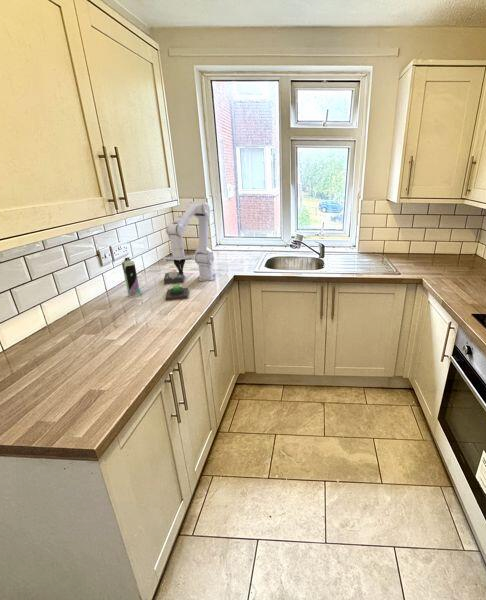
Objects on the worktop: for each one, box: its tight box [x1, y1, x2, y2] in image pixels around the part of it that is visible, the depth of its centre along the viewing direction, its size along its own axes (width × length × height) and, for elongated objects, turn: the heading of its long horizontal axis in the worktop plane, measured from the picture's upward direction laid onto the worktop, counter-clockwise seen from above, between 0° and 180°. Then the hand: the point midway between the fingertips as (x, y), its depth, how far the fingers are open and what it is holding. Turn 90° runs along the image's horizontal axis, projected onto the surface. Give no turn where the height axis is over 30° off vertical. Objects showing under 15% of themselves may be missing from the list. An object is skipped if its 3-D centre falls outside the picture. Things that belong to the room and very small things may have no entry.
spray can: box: [121, 256, 142, 298], centre depth 158 cm, size 6×6×20 cm
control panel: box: [163, 271, 185, 285], centre depth 184 cm, size 13×10×3 cm
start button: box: [171, 285, 181, 291], centre depth 161 cm, size 4×4×2 cm
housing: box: [165, 286, 189, 301], centre depth 162 cm, size 12×10×4 cm
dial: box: [167, 269, 178, 278], centre depth 180 cm, size 4×4×4 cm
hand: (181, 274), depth 163 cm, fingers closed
